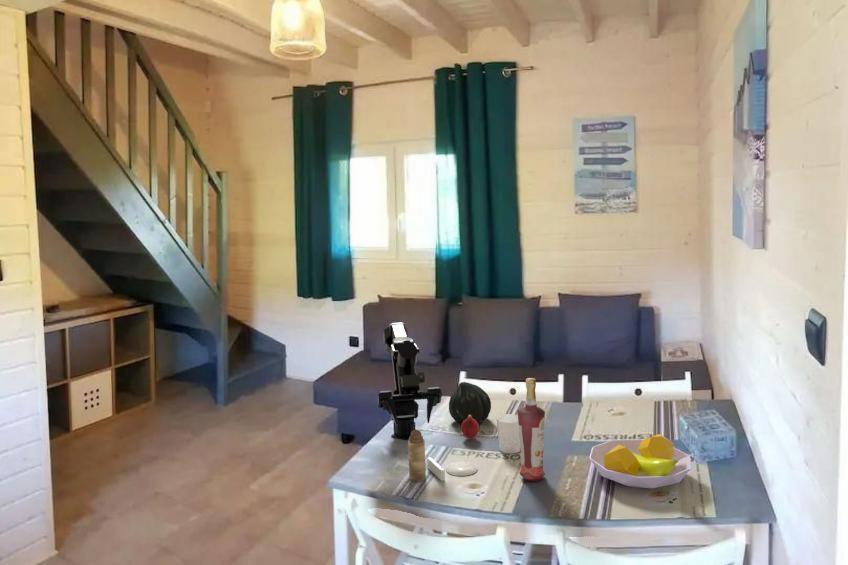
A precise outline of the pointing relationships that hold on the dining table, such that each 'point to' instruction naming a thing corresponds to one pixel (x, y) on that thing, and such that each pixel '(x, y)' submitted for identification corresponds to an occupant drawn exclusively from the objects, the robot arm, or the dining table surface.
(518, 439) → the white cup
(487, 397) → the squash
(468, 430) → the onion
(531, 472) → the liquor
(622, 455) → the fruit bowl
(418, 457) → the pepper mill
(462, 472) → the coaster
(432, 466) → the divider wall
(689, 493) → the dining table surface
